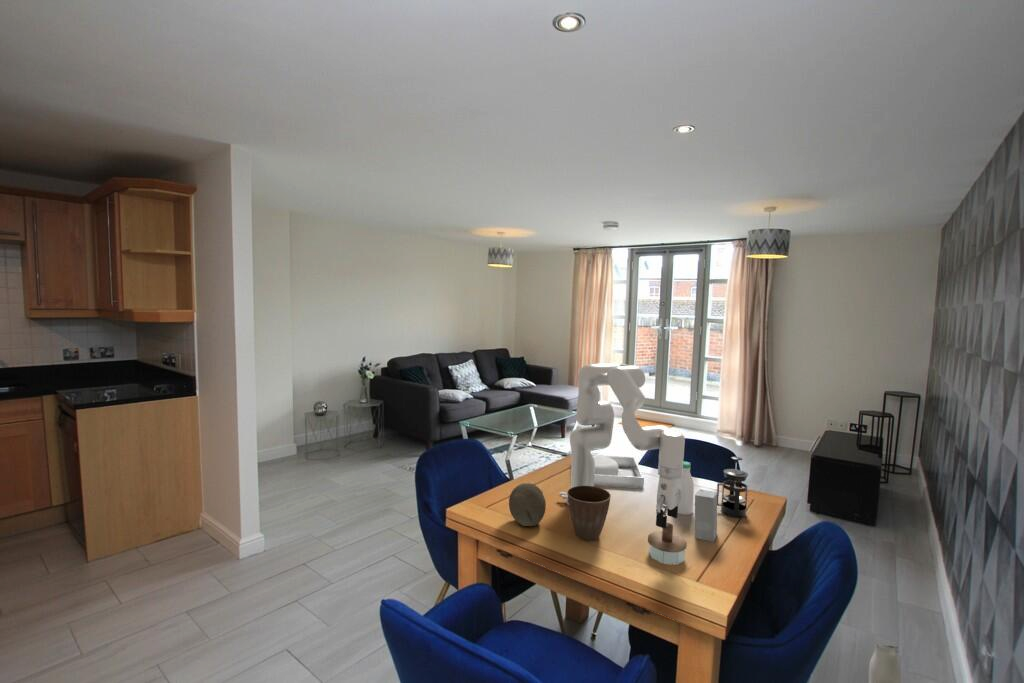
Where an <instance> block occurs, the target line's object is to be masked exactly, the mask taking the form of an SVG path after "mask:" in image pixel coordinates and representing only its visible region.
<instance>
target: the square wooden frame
mask: <svg viewBox="0 0 1024 683" xmlns="http://www.w3.org/2000/svg"><path fill="white" fill-rule="evenodd" d="M595 455H596V456H604V457H608V458H611V459H613V460H615V461H616V462H617V463H618V467H621V468H623V467H624V468H632V469H633V471H634V474H635V476H629V475H621V476H618V475H616V476H614V475H597V474H595V478H594V486H596V487H598V486H599V487H615V488H630V489H632V488H633V489H644V484H645V477H644V474H643V473H642V470H641V468H640V467H639V464H638V462H637V460H636V458H635V457H634V456H619V455H616V456H615V455H603V454H602V455H601V454H595Z"/></svg>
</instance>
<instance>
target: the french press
mask: <svg viewBox="0 0 1024 683" xmlns="http://www.w3.org/2000/svg"><path fill="white" fill-rule="evenodd" d="M730 459H732V460H734V463H735V468H727V469H724V470H723V474H724V475H723V476H724V478H725V479H727V480H724V481H723V482H717V485H716V486H717V487H716V492H717V507H721V509H720V513H721V514H723V516H726V517H729V518H733V519H745V518H746V517H747V503H748V485H747V484H746V483H744V482H745V481H746V479H747V477H749V473H748V472H746V471H744V470H740V469H737V466H738V465H737V464H738V463H739V462H738V461H742V460H743V458H742V457H739V456H731V457H730ZM720 486H722V491H721V503H719V497H720V496H719V493H720ZM737 486H740V487H742V488H737ZM725 490H727V491H729V494H724V493H725ZM744 492H745V495H744V497H743V496H741V493H744Z"/></svg>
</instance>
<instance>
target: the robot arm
mask: <svg viewBox="0 0 1024 683" xmlns="http://www.w3.org/2000/svg"><path fill="white" fill-rule="evenodd" d="M645 383H646V376H645V373H644V371H643V370H642V369H641V368H640V367H639V366H637V365H630V364H625V363H618V362H617V363H616V362H615V363H614V362H611V363H593V364H592V363H591V364H586V365H583V366H582V367H581V368H580V369H579V371H578V373H577V385H578V386H577V387H578V394H577V404H576V413H575V414H576V415H575V417H576V422H577V423H578V424H579V425H580V426H584V427H578V428H576V429H574V430H572V431H571V432H570V434H569V435H570V436H569V444H570V452H571V453H570V454H571V463H570V464H571V468H570V469H571V470H570V472H571V473H570V489H571V488H573V487H577V486H594V487H595V485H594V478H595V461H594V458H593V456H592V455H593V454H592V451H593V452H594V451H599V450H604V449H607V448H608V447H609V446H610V445H611V443H612V437H613V430H614V429H613V428H614V421H615V412H614V408H613V405H612V404H611V403H610V402H609V401H607V400H600V396H601V393H600V390H599V387H600V386H609V387H610V388H611V390H612V392H613V393H614V395H615V397H616V398H617V400H618V402H619V404H620V405H621V407H622V414H621V424H622V429H623V432H624V434H625V435H626V437H627V439H628V441H629V442H630V445H632V446H633V447H634V449H637V451H650V450H659V452H658V466H657V475H658V476H659V479H658V484H657V485H658V486H657V494H656V505H655V507H656V508H655V510H656V513H655V514H656V519H655V526H656V527H658V528H664V529H665V528H666V524H667V523H668V522H667V521H668V517H671V518H674V519H677V518H678V514H679V513H678V504H679V503H680V502H681V493H682V479H681V478H682V474H683V461H684V460H685V459H684V458H685V446H686V445H685V444H686V442H685V441H686V438H685V436H684V435H683V433H680V432H677V431H673V430H672V429H670V428H668V427H667V426H666V425H649V426H641V425H640V423H639V422H638V420H637V417H636V415H635V412H637V411H638V410H640V408H642V406H644V404H645V402H646V397H645V395H644V393H643V392H642V390H641V389H640V388H642V387H643V386H644V385H645ZM598 386H599V387H598ZM559 498H562V500H563V499H564V500H566V505H568V506H569V502H568V493H567V492H563V491H559ZM663 509H664V510H663Z"/></svg>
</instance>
